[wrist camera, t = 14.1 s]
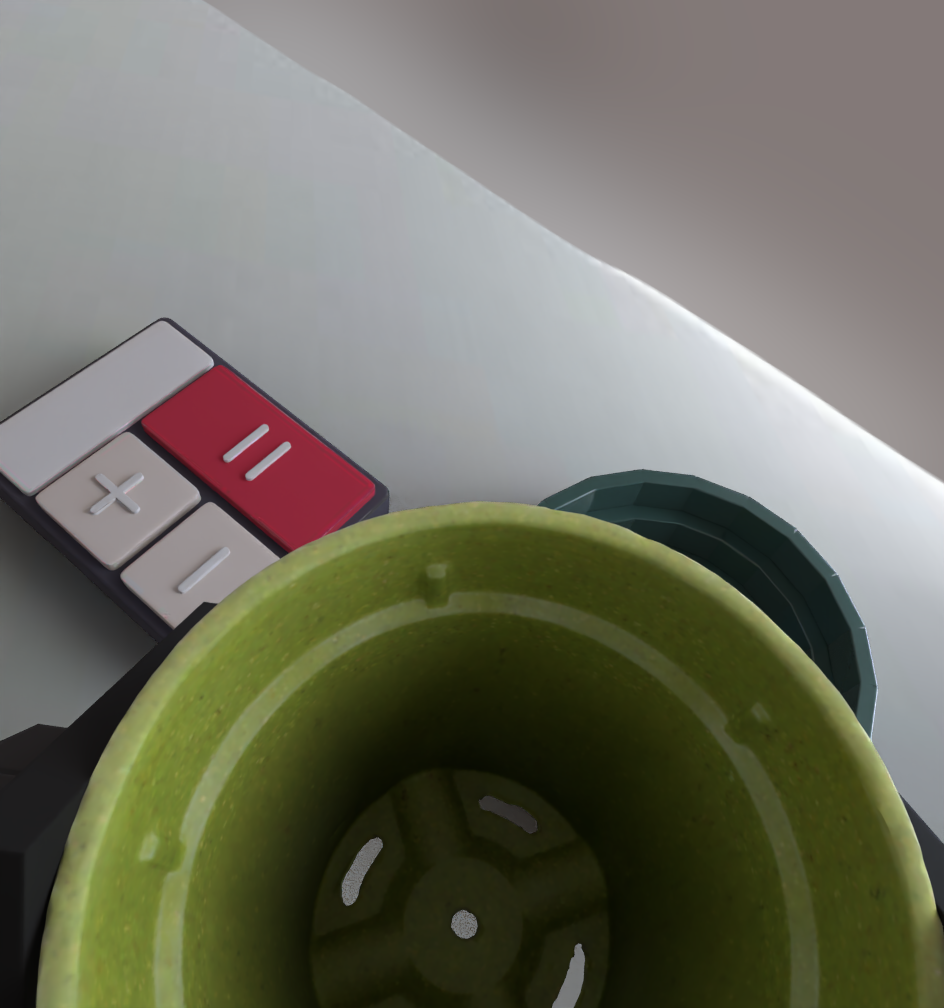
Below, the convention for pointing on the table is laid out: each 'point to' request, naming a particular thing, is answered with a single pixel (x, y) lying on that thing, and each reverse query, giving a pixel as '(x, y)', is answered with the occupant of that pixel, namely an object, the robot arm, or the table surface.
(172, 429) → the calculator
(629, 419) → the table surface
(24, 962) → the robot arm
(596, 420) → the table surface
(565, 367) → the table surface
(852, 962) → the plant pot
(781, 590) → the bowl
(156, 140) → the table surface
